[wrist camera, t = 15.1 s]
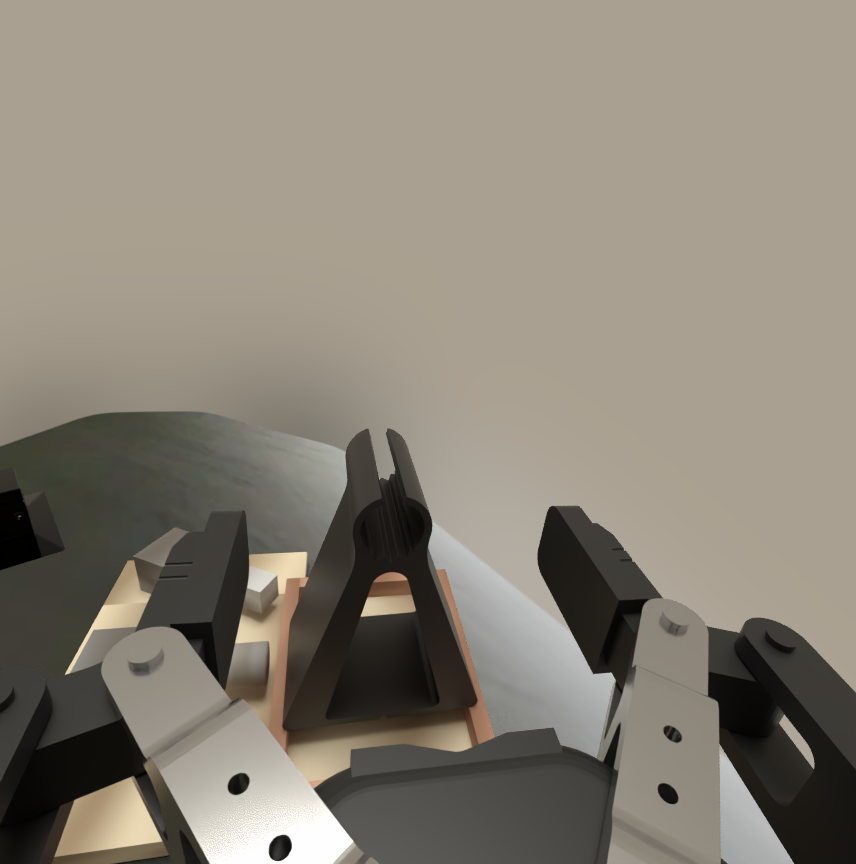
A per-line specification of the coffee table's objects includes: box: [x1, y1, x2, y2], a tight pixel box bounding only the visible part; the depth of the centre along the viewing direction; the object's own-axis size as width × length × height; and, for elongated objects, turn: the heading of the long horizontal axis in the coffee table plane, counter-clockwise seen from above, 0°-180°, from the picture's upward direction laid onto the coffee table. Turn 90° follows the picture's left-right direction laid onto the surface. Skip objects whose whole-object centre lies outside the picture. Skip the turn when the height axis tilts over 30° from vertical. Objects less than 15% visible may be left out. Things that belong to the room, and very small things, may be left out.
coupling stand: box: [52, 527, 495, 864], centre depth 27 cm, size 21×17×4 cm
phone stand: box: [282, 429, 478, 731], centre depth 23 cm, size 9×6×12 cm, turn 100°
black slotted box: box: [0, 468, 65, 570], centre depth 36 cm, size 12×7×5 cm, turn 41°
